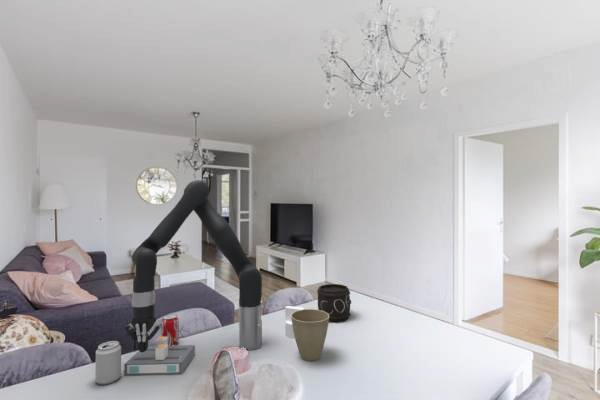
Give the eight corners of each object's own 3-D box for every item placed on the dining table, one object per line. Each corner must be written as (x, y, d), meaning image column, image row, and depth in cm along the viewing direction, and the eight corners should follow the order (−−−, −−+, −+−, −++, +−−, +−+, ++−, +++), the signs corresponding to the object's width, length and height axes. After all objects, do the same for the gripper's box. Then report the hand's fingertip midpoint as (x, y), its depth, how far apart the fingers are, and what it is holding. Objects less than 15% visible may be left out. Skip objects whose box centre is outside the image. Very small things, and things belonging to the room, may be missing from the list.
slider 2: (167, 355, 113) (167, 343, 113) (163, 359, 109) (163, 347, 109) (159, 355, 113) (159, 343, 113) (155, 360, 109) (155, 348, 109)
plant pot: (302, 370, 109) (302, 324, 109) (285, 353, 122) (284, 312, 122) (337, 360, 116) (336, 317, 116) (317, 345, 129) (316, 306, 129)
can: (103, 374, 108) (103, 340, 108) (125, 373, 108) (125, 339, 109) (90, 386, 100) (90, 349, 101) (114, 385, 101) (114, 348, 101)
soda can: (172, 348, 127) (172, 319, 128) (157, 347, 129) (157, 318, 129) (182, 341, 134) (182, 314, 135) (167, 340, 136) (167, 313, 136)
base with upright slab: (282, 336, 138) (281, 309, 139) (290, 329, 146) (289, 304, 147) (300, 339, 135) (300, 311, 135) (307, 331, 143) (307, 305, 144)
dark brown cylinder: (354, 323, 153) (353, 291, 153) (318, 323, 153) (318, 292, 154) (349, 311, 171) (348, 283, 171) (317, 311, 171) (316, 283, 172)
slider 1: (167, 347, 120) (167, 336, 120) (163, 351, 116) (163, 339, 116) (159, 347, 120) (159, 336, 120) (155, 351, 116) (155, 340, 116)
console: (194, 355, 121) (194, 344, 122) (181, 374, 107) (181, 362, 107) (144, 356, 121) (144, 346, 121) (123, 375, 107) (124, 364, 107)
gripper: (166, 299, 115) (165, 346, 115) (131, 300, 115) (130, 346, 115) (157, 306, 108) (156, 355, 107) (119, 306, 108) (118, 356, 107)
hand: (143, 351), depth 111 cm, fingers closed
